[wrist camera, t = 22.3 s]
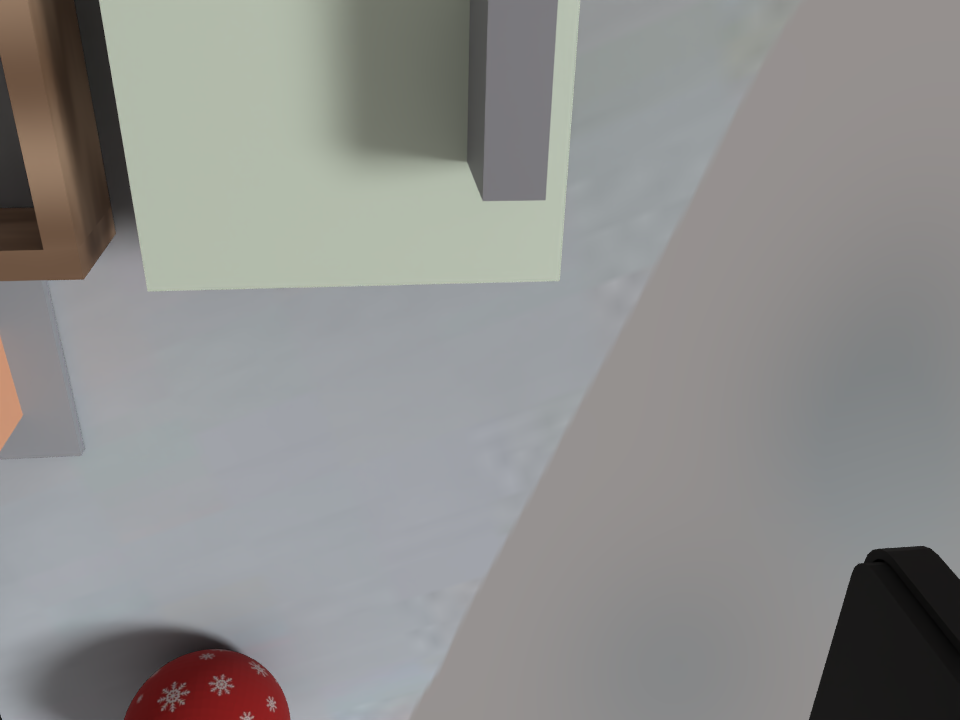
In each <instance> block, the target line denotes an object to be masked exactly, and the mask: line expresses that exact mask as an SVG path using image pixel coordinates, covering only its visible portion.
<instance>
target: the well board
mask: <svg viewBox="0 0 960 720" xmlns="http://www.w3.org/2000/svg"><path fill="white" fill-rule="evenodd" d="M0 56H1V61H2V65H3V70H4V74H5V79H6V83H7V88H8V92H9V97H10V101H11V106H12V110H13V115H14V119H15V124H16V128H17V133H18V137H19V142H20V146H21V151H22V155H23V160H24V164H25V169H26V173H27V178H28V182H29V187H30V191H31V196H32V200H33V205H34V208H0V281H35V280H77V279H84V278H85V277H86V276H87V274H88V273H89V271H90V270H91V268H92V267H93V266H94V264H95V263H96V261H97V260H98V258H99V257H100V256H101V254H102V253H103V251H104V250H105V248H106V247H107V246H108V244H109V243H110V241H111V240H112V238H113V237H114V236H115V234H116V232H115V226H114V221H113V215H112V209H111V204H110V198H109V193H108V187H107V182H106V176H105V170H104V165H103V159H102V154H101V148H100V143H99V137H98V132H97V126H96V120H95V115H94V109H93V104H92V98H91V93H90V87H89V81H88V76H87V70H86V65H85V59H84V54H83V48H82V43H81V37H80V31H79V26H78V20H77V15H76V9H75V4H74V0H0Z"/></svg>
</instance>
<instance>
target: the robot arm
mask: <svg viewBox="0 0 960 720" xmlns="http://www.w3.org/2000/svg"><path fill="white" fill-rule="evenodd" d="M0 720H2V718H1V715H0ZM809 720H960V579H959V578H958V577H957V576H956V575H955V574H954V573H953V572H952V570H951V569H950V568H949V567H948V566H947V565H946V563H945V562H944V561H943V560H942V559H941V558H940V557H939V555H938V554H936V553H935V552H934V551H933V550H932V549H930V548H927V547H925V546H915V547H901V548H885V549H875V550H872V551H871V552H870V553H869V554H868V555H867V557H866V559H865V562H864V563H861V564H858V565H857V566H855V568H854V570H853V572H852V575H851V578H850V582H849V585H848V588H847V592H846V595H845V599H844V602H843V606H842V609H841V612H840V616H839V619H838V623H837V626H836V629H835V633H834V636H833V640H832V644H831V646H830V650H829V654H828V657H827V660H826V663H825V667H824V670H823V674H822V677H821V681H820V684H819V688H818V691H817V694H816V698H815V701H814V704H813V708H812V711H811V715H810V718H809Z"/></svg>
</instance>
